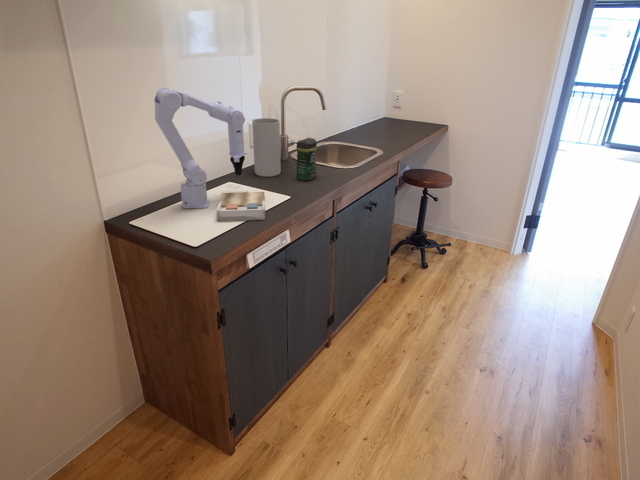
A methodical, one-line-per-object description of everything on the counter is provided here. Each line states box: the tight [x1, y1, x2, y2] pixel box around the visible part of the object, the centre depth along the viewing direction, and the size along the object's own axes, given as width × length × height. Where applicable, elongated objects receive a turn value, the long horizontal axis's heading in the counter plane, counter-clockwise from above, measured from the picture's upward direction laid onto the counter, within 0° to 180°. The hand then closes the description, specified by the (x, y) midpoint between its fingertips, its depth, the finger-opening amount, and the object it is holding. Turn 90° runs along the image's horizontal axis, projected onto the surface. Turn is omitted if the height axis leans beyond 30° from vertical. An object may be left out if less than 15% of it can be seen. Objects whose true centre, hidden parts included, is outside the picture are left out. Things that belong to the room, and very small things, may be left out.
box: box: [216, 200, 266, 222], centre depth 155 cm, size 17×9×4 cm, turn 97°
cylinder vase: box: [251, 117, 282, 178], centre depth 197 cm, size 12×12×25 cm
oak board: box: [219, 191, 266, 207], centre depth 166 cm, size 17×14×2 cm
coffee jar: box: [295, 137, 318, 182], centre depth 193 cm, size 10×8×19 cm
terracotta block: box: [226, 204, 238, 210], centre depth 154 cm, size 4×4×2 cm
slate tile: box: [247, 203, 258, 209], centre depth 155 cm, size 4×4×2 cm
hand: (238, 174), depth 170 cm, fingers closed
